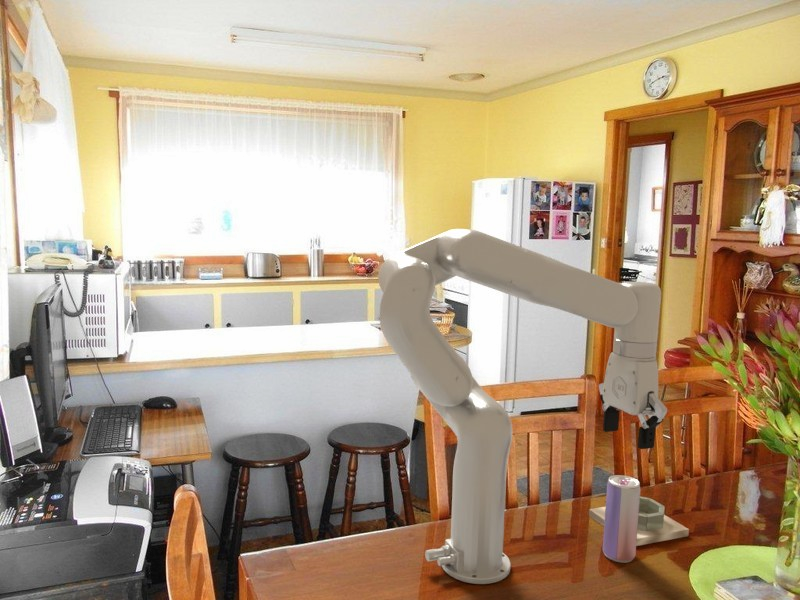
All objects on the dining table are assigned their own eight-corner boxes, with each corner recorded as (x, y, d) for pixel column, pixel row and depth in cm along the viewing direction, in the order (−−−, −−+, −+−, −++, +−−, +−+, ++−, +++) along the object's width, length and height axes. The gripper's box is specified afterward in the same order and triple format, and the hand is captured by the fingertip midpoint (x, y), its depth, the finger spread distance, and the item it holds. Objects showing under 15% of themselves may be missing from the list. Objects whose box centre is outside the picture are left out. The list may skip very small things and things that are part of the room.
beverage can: (599, 558, 124) (604, 482, 122) (605, 545, 129) (610, 472, 127) (632, 567, 121) (638, 489, 119) (637, 552, 126) (643, 478, 125)
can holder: (632, 546, 129) (634, 525, 128) (588, 515, 142) (590, 495, 141) (688, 536, 134) (690, 515, 133) (640, 507, 147) (642, 488, 146)
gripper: (588, 341, 127) (582, 426, 129) (651, 360, 111) (643, 457, 113) (619, 339, 130) (613, 423, 132) (686, 358, 114) (677, 453, 116)
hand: (627, 439), depth 122 cm, fingers open, 9 cm apart
